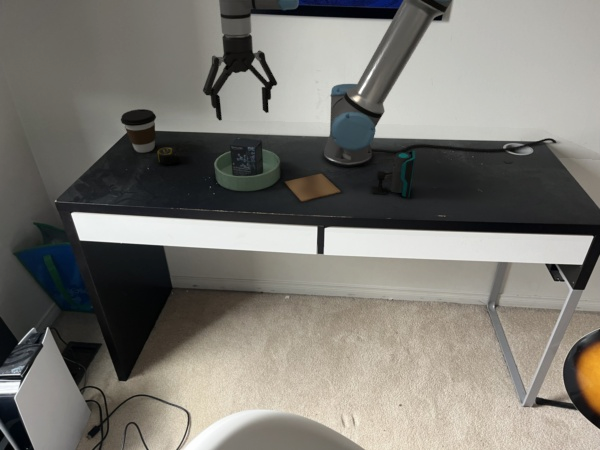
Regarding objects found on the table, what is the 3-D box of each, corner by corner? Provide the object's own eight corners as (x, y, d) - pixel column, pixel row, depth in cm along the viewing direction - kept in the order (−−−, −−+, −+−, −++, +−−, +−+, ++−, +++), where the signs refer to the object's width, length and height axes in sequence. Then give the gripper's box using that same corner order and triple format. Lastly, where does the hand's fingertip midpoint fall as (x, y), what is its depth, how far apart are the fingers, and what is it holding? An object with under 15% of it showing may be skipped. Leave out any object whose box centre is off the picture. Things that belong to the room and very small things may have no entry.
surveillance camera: (377, 147, 129) (414, 149, 128) (373, 185, 136) (409, 188, 135) (376, 156, 125) (415, 158, 123) (372, 195, 131) (409, 198, 130)
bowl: (266, 156, 153) (265, 143, 150) (290, 182, 138) (290, 168, 136) (208, 168, 146) (206, 155, 144) (227, 197, 132) (225, 182, 129)
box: (232, 177, 141) (229, 144, 135) (240, 168, 145) (237, 136, 139) (256, 180, 139) (254, 147, 133) (263, 172, 143) (262, 139, 137)
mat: (321, 174, 142) (321, 173, 142) (340, 192, 133) (340, 191, 133) (284, 182, 138) (284, 181, 138) (301, 201, 129) (301, 200, 129)
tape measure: (180, 164, 149) (179, 153, 146) (158, 167, 147) (156, 156, 145) (178, 155, 154) (176, 145, 152) (157, 158, 152) (154, 148, 150)
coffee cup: (136, 141, 164) (128, 107, 157) (166, 142, 162) (160, 109, 156) (122, 155, 155) (113, 120, 148) (154, 156, 153) (146, 121, 147)
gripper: (276, 27, 127) (279, 104, 139) (184, 36, 118) (195, 117, 130) (288, 32, 121) (289, 112, 133) (192, 42, 113) (202, 126, 124)
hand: (242, 115), depth 132 cm, fingers open, 13 cm apart
